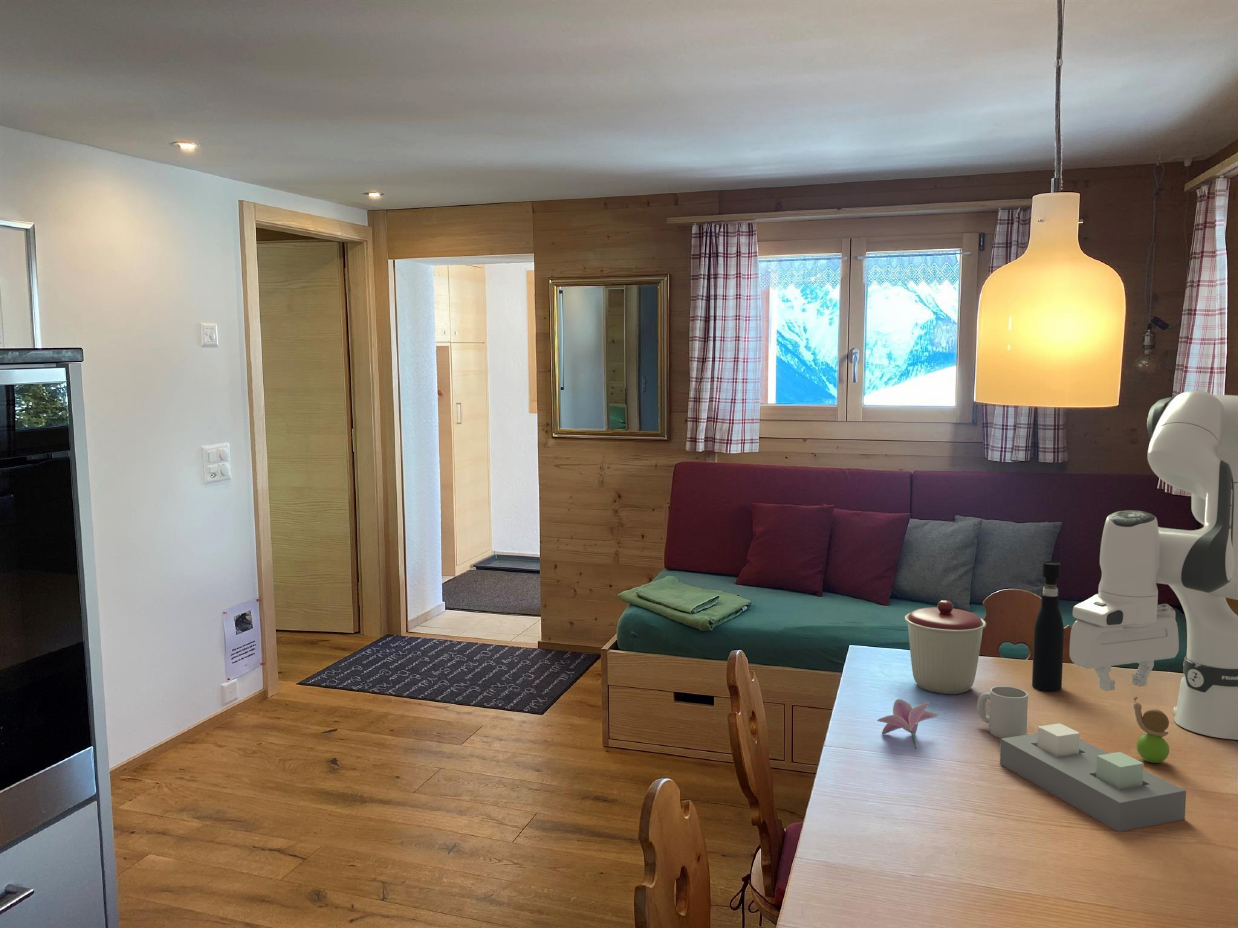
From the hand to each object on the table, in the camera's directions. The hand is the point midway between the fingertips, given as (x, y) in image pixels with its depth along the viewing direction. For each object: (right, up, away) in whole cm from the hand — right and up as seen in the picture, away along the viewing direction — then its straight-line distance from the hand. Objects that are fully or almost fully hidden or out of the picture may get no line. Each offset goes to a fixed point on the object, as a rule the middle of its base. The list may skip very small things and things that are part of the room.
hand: (1123, 687), depth 158 cm
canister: (-9, -15, +63) cm, 65 cm away
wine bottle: (+16, -15, +62) cm, 66 cm away
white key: (-4, -16, +15) cm, 23 cm away
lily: (-27, -19, +31) cm, 45 cm away
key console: (-2, -20, +9) cm, 22 cm away
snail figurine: (+16, -19, +21) cm, 33 cm away
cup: (-6, -18, +36) cm, 40 cm away
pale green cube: (0, -18, +2) cm, 18 cm away
